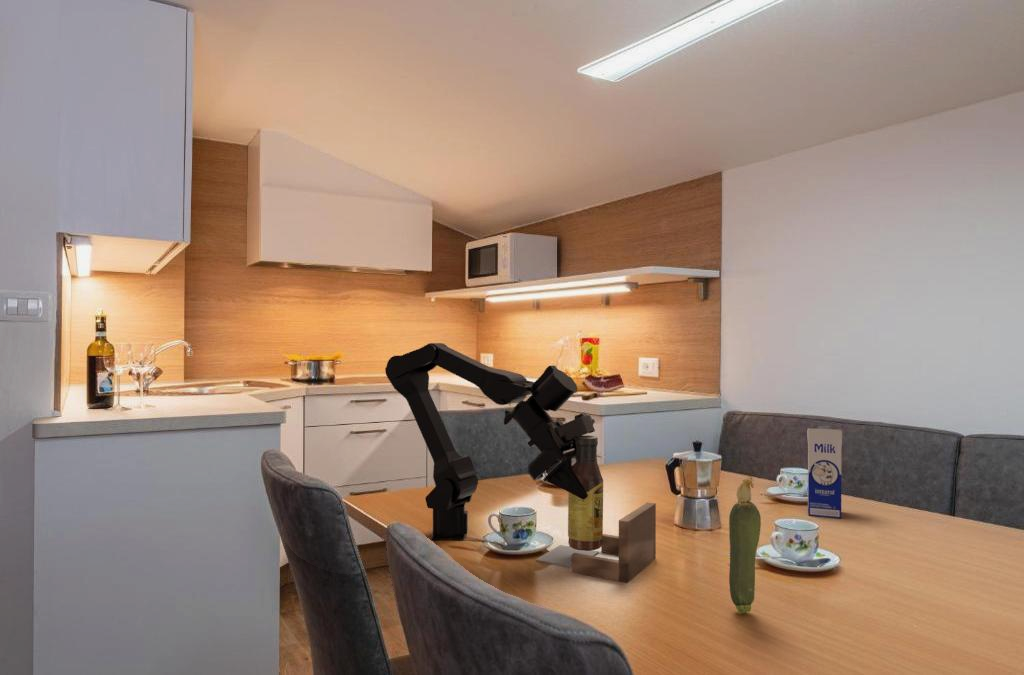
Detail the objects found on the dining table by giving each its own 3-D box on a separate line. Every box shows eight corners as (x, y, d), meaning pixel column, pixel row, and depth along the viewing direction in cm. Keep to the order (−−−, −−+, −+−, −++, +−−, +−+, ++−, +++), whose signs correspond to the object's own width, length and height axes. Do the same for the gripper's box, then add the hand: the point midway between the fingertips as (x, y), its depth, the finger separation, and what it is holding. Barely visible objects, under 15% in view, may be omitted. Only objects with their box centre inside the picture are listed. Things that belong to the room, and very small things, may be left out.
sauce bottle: (601, 553, 121) (602, 440, 121) (565, 551, 123) (567, 438, 122) (603, 542, 128) (605, 434, 127) (570, 539, 129) (571, 433, 129)
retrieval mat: (535, 561, 125) (535, 559, 125) (560, 546, 133) (560, 544, 133) (576, 568, 121) (576, 566, 121) (598, 553, 129) (598, 551, 129)
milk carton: (807, 515, 157) (807, 427, 157) (806, 508, 163) (807, 423, 163) (842, 518, 154) (842, 428, 154) (840, 511, 161) (840, 425, 161)
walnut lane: (571, 572, 119) (571, 513, 119) (603, 549, 131) (603, 496, 131) (627, 582, 114) (627, 521, 114) (655, 558, 126) (655, 503, 126)
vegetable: (724, 606, 104) (724, 472, 104) (752, 605, 104) (752, 472, 104) (736, 618, 100) (736, 478, 100) (765, 617, 100) (766, 478, 100)
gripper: (544, 403, 119) (603, 475, 114) (588, 395, 135) (641, 458, 130) (504, 444, 123) (559, 516, 118) (551, 432, 139) (601, 494, 134)
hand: (593, 494), depth 125 cm, fingers closed on sauce bottle, 6 cm apart
